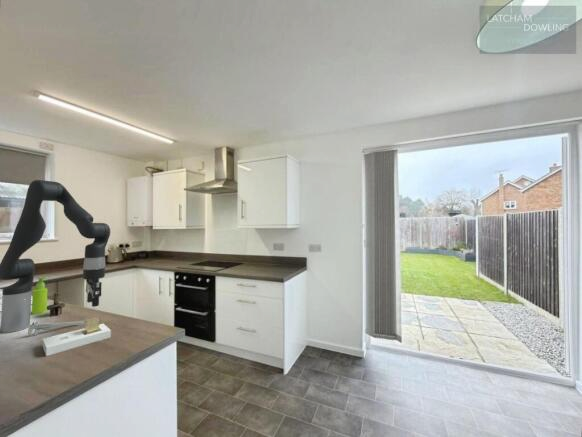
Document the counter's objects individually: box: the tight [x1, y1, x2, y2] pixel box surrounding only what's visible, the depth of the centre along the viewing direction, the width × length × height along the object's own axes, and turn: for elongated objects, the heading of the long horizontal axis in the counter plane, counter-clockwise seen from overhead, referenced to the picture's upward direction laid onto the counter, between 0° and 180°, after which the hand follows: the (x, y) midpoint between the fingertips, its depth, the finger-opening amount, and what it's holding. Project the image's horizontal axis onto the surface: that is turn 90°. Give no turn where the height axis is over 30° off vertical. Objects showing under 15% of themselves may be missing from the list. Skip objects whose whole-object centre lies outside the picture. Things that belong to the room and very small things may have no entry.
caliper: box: [27, 320, 85, 338], centre depth 113 cm, size 20×1×6 cm, turn 143°
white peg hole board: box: [41, 323, 112, 357], centre depth 101 cm, size 12×20×3 cm, turn 141°
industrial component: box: [47, 292, 66, 317], centre depth 133 cm, size 9×7×12 cm
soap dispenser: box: [31, 276, 50, 315], centre depth 136 cm, size 6×7×20 cm
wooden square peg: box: [84, 316, 100, 335], centre depth 105 cm, size 4×4×8 cm
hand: (92, 304), depth 105 cm, fingers open, 8 cm apart
